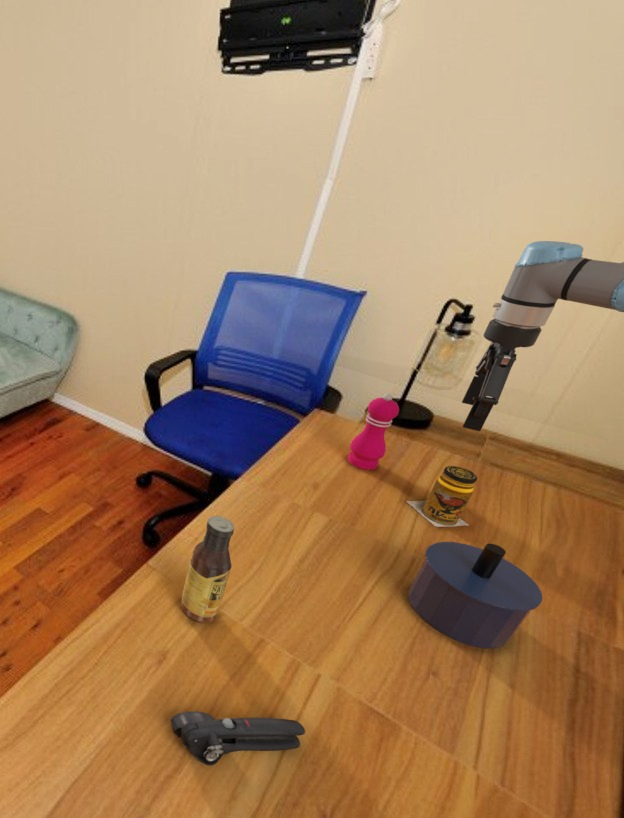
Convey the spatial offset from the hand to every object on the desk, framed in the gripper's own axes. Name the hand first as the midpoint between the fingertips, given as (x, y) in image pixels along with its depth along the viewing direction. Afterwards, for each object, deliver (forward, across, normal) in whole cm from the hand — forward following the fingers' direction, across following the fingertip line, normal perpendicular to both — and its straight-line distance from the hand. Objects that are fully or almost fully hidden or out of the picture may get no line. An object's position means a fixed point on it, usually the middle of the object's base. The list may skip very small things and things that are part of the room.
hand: (470, 416), depth 109 cm
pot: (+21, +40, +4) cm, 45 cm away
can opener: (+21, +87, -20) cm, 92 cm away
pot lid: (+11, +40, +4) cm, 42 cm away
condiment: (+21, +9, +1) cm, 23 cm away
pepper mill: (+21, -4, -14) cm, 26 cm away
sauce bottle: (+21, +68, -32) cm, 78 cm away
